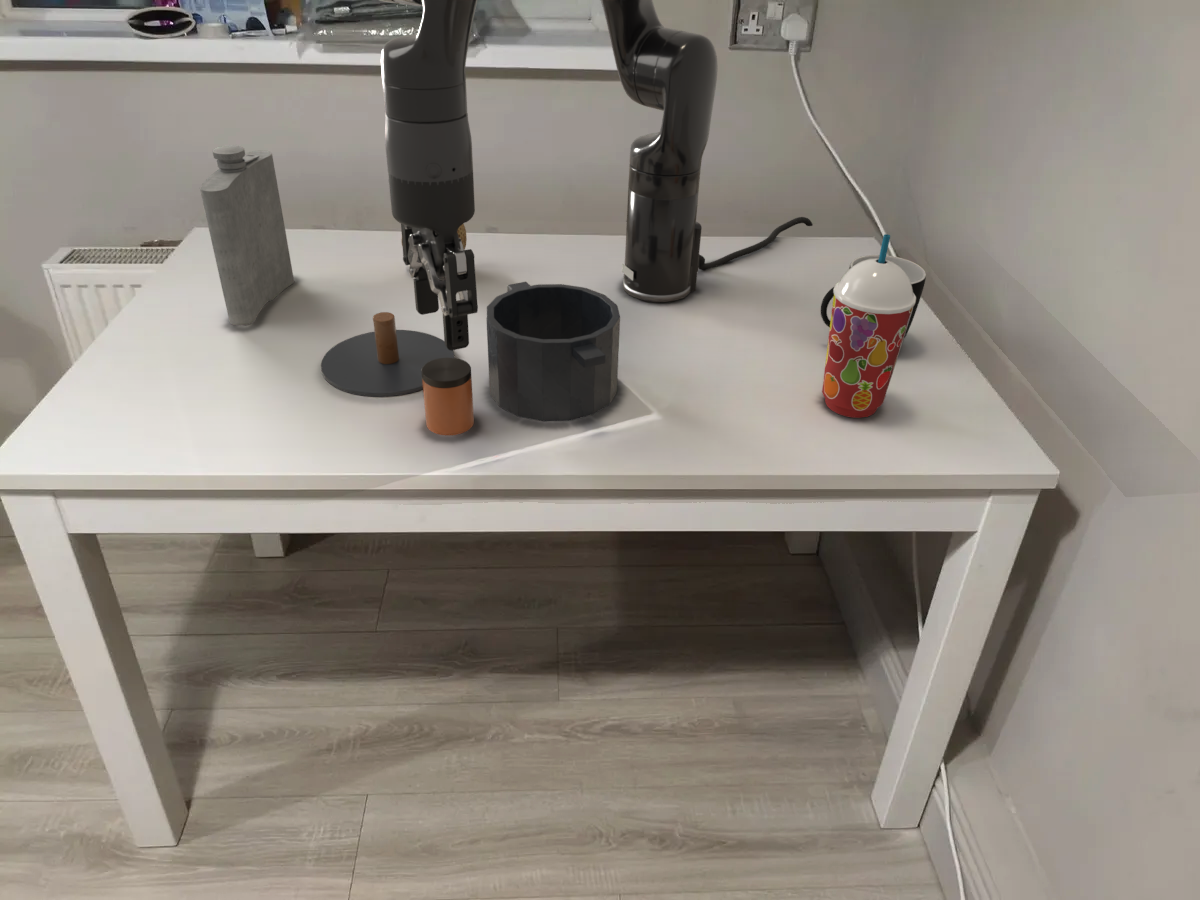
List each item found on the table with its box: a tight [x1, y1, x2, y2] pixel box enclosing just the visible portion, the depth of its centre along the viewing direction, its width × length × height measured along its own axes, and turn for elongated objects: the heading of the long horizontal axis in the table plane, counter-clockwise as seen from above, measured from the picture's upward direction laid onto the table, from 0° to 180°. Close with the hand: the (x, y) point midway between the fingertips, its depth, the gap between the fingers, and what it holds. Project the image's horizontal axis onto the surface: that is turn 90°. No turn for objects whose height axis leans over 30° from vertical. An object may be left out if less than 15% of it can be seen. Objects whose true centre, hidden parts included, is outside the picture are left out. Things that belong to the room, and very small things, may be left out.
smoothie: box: [821, 233, 916, 419], centre depth 97 cm, size 8×8×20 cm
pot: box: [485, 281, 621, 422], centre depth 101 cm, size 14×20×10 cm
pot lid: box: [320, 311, 456, 398], centre depth 105 cm, size 15×15×7 cm
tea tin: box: [421, 357, 475, 436], centre depth 95 cm, size 5×5×7 cm
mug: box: [820, 254, 927, 341], centre depth 112 cm, size 12×9×10 cm
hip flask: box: [199, 144, 295, 327], centre depth 115 cm, size 16×4×20 cm, turn 175°
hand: (441, 329), depth 90 cm, fingers open, 8 cm apart
